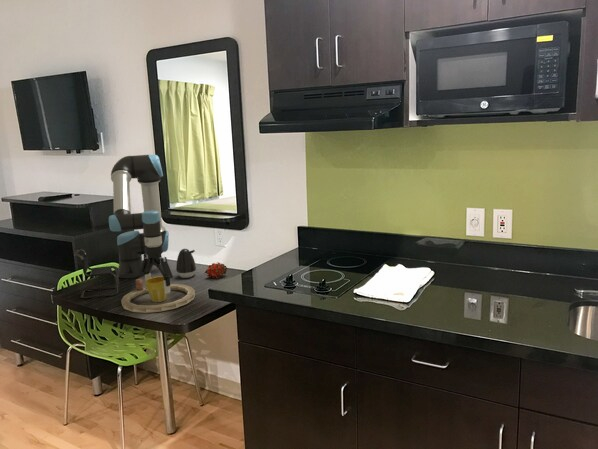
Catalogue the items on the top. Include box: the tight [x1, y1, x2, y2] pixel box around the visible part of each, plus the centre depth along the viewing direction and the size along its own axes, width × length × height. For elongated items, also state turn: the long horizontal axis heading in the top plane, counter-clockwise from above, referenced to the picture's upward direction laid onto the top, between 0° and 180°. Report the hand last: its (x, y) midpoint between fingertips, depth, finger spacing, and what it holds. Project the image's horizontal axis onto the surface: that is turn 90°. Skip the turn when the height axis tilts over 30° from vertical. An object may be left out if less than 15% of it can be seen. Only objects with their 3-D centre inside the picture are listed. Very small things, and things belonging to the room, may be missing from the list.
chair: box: [73, 248, 120, 300], centre depth 235 cm, size 13×17×22 cm
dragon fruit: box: [204, 262, 228, 279], centre depth 254 cm, size 8×8×12 cm
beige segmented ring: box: [120, 278, 196, 314], centre depth 224 cm, size 32×32×7 cm
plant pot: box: [144, 275, 168, 303], centre depth 224 cm, size 10×10×10 cm
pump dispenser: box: [175, 248, 197, 279], centre depth 257 cm, size 10×10×15 cm
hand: (158, 290), depth 224 cm, fingers open, 13 cm apart
